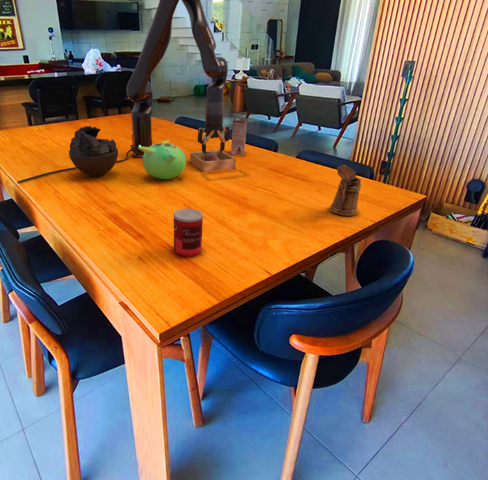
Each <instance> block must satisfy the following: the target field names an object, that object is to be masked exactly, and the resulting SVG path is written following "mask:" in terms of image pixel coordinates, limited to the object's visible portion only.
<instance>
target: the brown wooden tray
mask: <svg viewBox="0 0 488 480" xmlns="http://www.w3.org/2000/svg"><path fill="white" fill-rule="evenodd" d="M207 153H212V154H214V155H216V156H217V157H218V158H219V159H220V160H217V161H205V155H206V154H207ZM189 163H191V164H192V165H193V166H195V167H196V168H197V169H198V170H200V171H201V172H202V173H204V172H216V171H224V170H225V171H226V170H234V169H236V164H237V158H234V157H233V156H231V154H229V153H226V152H225V151H223V152H221V151H220V149H217V150H206V153H203V152H202V151H195V152H189Z"/></svg>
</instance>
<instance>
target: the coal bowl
mask: <svg viewBox="0 0 488 480" xmlns="http://www.w3.org/2000/svg"><path fill="white" fill-rule="evenodd" d="M100 132H101V128H98V127H96V126H93V127H92V126H91V125H84V126H81V127H80V128H78V129H77V130H75V131H74V137H72V138H71V139H70V144H69V150H68V156H69V159H70V161H71V162H72V164H73V166H74V167H76V168H77V170H79V171H80V173H83V174H84V175H88V176H91V177H92V176H93V177H97V176H102V175H105V174H106V173H109V172H110V171H111V170H112V169H113V168H114V167H115V165H116V163H117V162H116V161H118V156H119V149H118V148H117V143H116V141H115V139H111V140H110V139H107V138H97V137H98V135H99V133H100Z"/></svg>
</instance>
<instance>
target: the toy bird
mask: <svg viewBox="0 0 488 480" xmlns="http://www.w3.org/2000/svg"><path fill="white" fill-rule="evenodd" d="M138 148H139V149H140V150H141V151H143V152H144V155H143V158H142V166H143V168H144V170H145V172H146V173H147V174H148V175H150V176H152V177H153V178H156V179H159V180H172V179H175V178H177V177H179V176H180V175H181V174H183V172H184V171H185V169H186V166H187V156H186V155H185V152H184V151H183V150H182V148H180V147H179V146H178V145H176V144H174V143H170V139H165V140H163V141H161V142H157V143H153V144H152V145H151V146H150V147H138Z"/></svg>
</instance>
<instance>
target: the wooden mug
mask: <svg viewBox="0 0 488 480" xmlns="http://www.w3.org/2000/svg"><path fill="white" fill-rule="evenodd" d="M336 172H337V175H338V176H339V177H340V178H341V180H340V181H339V183H338V187H337V190H336V193H335V195H334V199H333V201H332V203H331V204H330V208H329V211H330V212H331V213H332V214H335V215H338V216H343V217H353V216H356V215H357V212H358V202H359V195H360V191H361V187H362V184H361V181H362V179H361V178H359V177H356V176H357V172H356V170H355V168H353V166H351V165H349V164H347V163H342V164H339V165H338V166H337V168H336Z"/></svg>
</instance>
